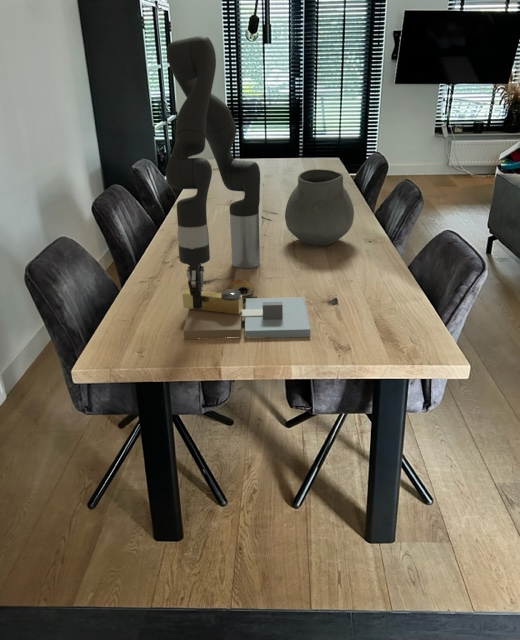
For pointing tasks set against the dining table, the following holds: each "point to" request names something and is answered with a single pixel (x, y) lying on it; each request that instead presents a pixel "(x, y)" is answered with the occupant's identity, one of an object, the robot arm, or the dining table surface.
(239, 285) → the pastry
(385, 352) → the dining table surface
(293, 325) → the door mock-up
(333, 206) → the ceramic pot
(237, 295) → the swing bar
